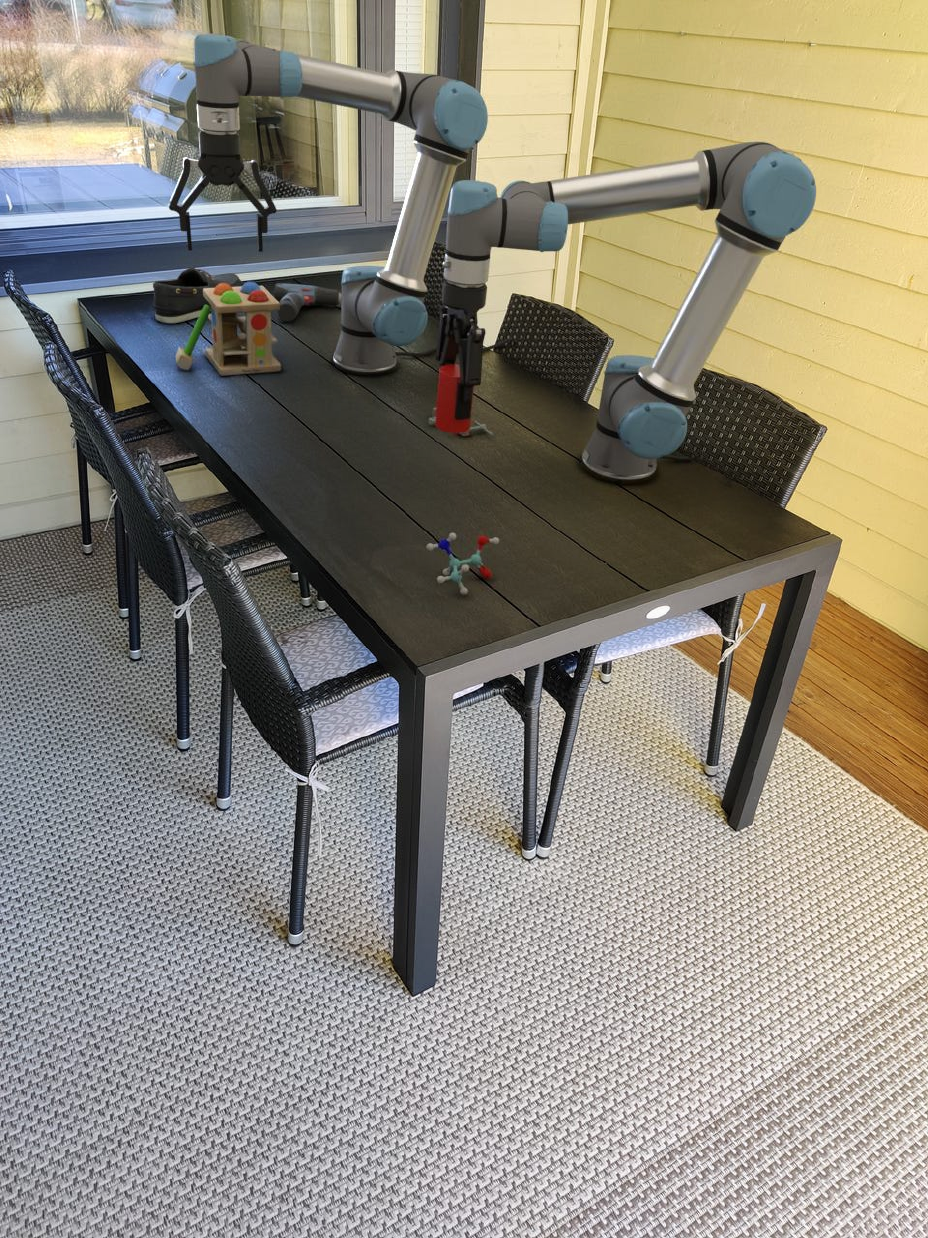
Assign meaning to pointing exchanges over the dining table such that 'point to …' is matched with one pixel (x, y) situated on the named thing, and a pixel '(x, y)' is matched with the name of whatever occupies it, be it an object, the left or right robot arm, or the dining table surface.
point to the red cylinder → (449, 401)
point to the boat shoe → (186, 294)
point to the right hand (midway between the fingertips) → (453, 410)
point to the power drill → (302, 298)
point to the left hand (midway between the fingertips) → (225, 249)
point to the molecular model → (455, 563)
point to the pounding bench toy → (229, 347)
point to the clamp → (479, 427)
